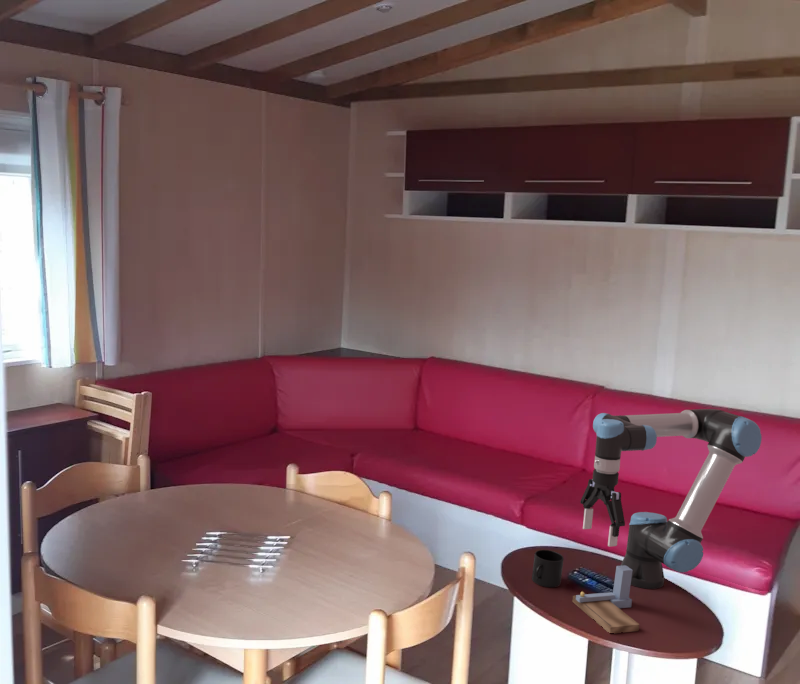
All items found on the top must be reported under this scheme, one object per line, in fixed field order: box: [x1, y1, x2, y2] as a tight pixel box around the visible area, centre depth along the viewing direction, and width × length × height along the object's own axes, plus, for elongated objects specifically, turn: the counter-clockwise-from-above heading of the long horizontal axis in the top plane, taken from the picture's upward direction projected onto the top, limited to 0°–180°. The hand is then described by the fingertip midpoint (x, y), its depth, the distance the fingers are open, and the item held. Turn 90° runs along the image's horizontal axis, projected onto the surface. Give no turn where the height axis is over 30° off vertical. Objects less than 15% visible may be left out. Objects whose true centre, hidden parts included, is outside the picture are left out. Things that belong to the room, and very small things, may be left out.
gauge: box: [575, 565, 633, 609], centre depth 241 cm, size 18×5×12 cm, turn 110°
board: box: [572, 595, 640, 634], centre depth 235 cm, size 10×20×2 cm, turn 20°
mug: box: [531, 549, 565, 588], centre depth 254 cm, size 9×12×9 cm
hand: (599, 537), depth 238 cm, fingers open, 13 cm apart
